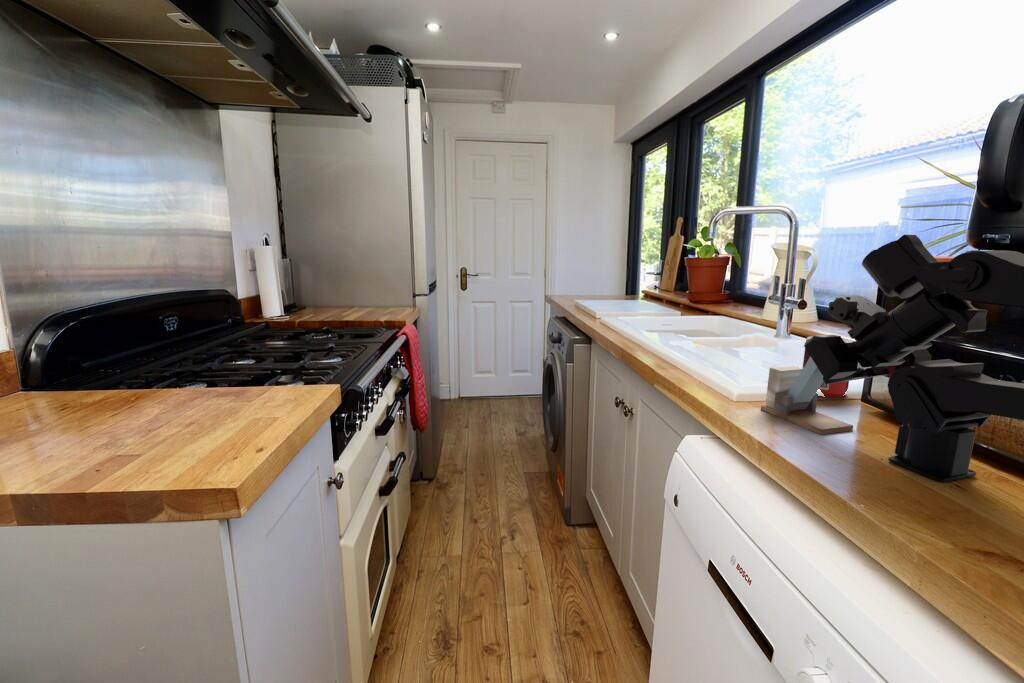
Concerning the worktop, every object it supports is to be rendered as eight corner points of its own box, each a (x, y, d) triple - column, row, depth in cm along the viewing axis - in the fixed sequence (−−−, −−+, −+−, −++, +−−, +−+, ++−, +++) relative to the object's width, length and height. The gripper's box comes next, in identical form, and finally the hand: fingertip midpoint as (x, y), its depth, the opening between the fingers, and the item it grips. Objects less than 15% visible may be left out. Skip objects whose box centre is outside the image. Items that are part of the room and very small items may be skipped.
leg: (805, 409, 81) (840, 357, 74) (787, 411, 80) (821, 358, 73) (798, 401, 82) (831, 350, 76) (780, 403, 81) (812, 351, 74)
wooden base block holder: (852, 430, 74) (859, 382, 73) (821, 434, 72) (828, 386, 71) (789, 406, 85) (794, 365, 84) (760, 409, 84) (765, 367, 82)
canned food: (856, 398, 90) (864, 343, 88) (814, 398, 90) (821, 342, 88) (830, 387, 98) (837, 335, 96) (791, 387, 98) (798, 335, 96)
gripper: (923, 277, 69) (841, 337, 81) (825, 279, 64) (754, 342, 76) (977, 339, 63) (880, 393, 76) (874, 347, 58) (789, 403, 70)
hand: (825, 381), depth 75 cm, fingers closed
